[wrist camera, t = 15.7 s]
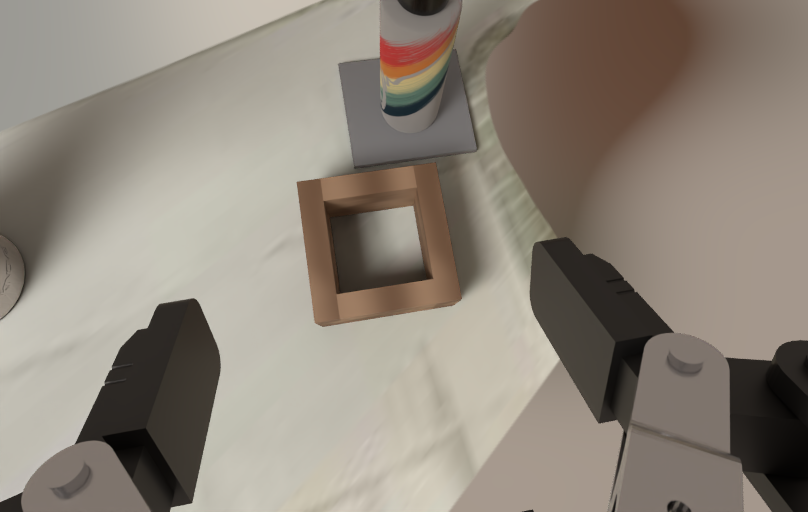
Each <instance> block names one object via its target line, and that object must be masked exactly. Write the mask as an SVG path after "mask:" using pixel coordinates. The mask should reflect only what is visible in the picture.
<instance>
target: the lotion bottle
mask: <svg viewBox="0 0 808 512" xmlns="http://www.w3.org/2000/svg"><path fill="white" fill-rule="evenodd" d="M461 9H462V0H380V99H381V111H382V114H383V117H384V119H385V120H386V122H387V123H388V124H389V125H390V126H391V127H392V128H394V129H395V130H397V131H400V132H403V133H417V132H421V131H423V130H425V129H426V128H428V127H429V126H430V125H431V124H432V123H433V121H434V120H435V118H436V116H437V113H438V110H439V106H440V102H441V98H442V94H443V89H444V85H445V80H446V76H447V72H448V67H449V63H450V59H451V54H452V50H453V46H454V41H455V37H456V32H457V28H458V24H459V19H460V14H461Z"/></svg>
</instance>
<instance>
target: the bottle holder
mask: <svg viewBox="0 0 808 512" xmlns="http://www.w3.org/2000/svg"><path fill="white" fill-rule="evenodd" d="M297 188H298V196H299V203H300V211H301V219H302V227H303V234H304V242H305V250H306V258H307V265H308V273H309V281H310V289H311V296H312V304H313V312H314V320H315V323H316V324H318V325H320V326H322V327H325V326H331V325H337V324H343V323H349V322H355V321H361V320H367V319H374V318H380V317H386V316H392V315H398V314H404V313H410V312H416V311H422V310H429V309H435V308H441V307H447V306H453V305H455V304H456V303H457V302H459V301H460V300H461V299H462V297H461V292H460V287H459V281H458V276H457V271H456V266H455V260H454V255H453V250H452V245H451V239H450V234H449V229H448V224H447V218H446V213H445V208H444V203H443V197H442V192H441V187H440V182H439V176H438V171H437V166H436V162H435V163H428V164H421V165H414V166H407V167H400V168H393V169H385V170H378V171H371V172H364V173H357V174H350V175H343V176H336V177H329V178H321V179H314V180H307V181H300V182H297ZM406 206H414V211H415V217H416V223H417V228H418V234H419V240H420V245H421V251H422V257H423V262H424V268H425V273H426V279H427V280H424V281H417V282H411V283H405V284H398V285H392V286H386V287H380V288H373V289H367V290H361V291H354V292H348V293H342V294H341V293H340V286H339V279H338V272H337V265H336V258H335V251H334V244H333V236H332V229H331V222H330V218H331V217H338V216H345V215H352V214H358V213H365V212H372V211H379V210H386V209H392V208H399V207H406Z"/></svg>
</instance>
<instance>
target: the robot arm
mask: <svg viewBox="0 0 808 512" xmlns="http://www.w3.org/2000/svg"><path fill="white" fill-rule="evenodd" d="M24 277H25V270H24V262H23V260H22V257H21V254H20V252H19V251H18V249H17V248H16V247H15V245H14V244H13V243H12V242H10V241H9V240H8V239H7V238H5V237H3V236H1V235H0V319H1V318H2V317H4V316H5V315H6V314H7V313H8V312H9V311H10V309H11V308H12V307H13V306H14V305H15V303H16V301H17V299H18V297H19V296H20V294H21V291H22V288H23V284H24ZM530 301H531V306H532V310H533V313H534V315H535V317H536V319H537V321H538V322H539V324H540V326H541V327H542V329H543V331H544V332H545V334H546V336H547V338H548V339H549V341H550V343H551V344H552V346H553V348H554V349H555V351H556V353H557V354H558V356H559V358H560V359H561V361H562V363H563V365H564V366H565V368H566V370H567V371H568V373H569V375H570V376H571V378H572V379H573V381H574V383H575V385H576V386H577V388H578V390H579V391H580V393H581V395H582V397H583V398H584V400H585V401H586V403H587V405H588V407H589V408H590V410H591V412H592V413H593V415H594V417H595V418H596V420H597V422H598V423H603V422H609V421H614V420H618V422H619V423H620V425H621V426H622V428H623V434H622V438H621V443H620V448H619V453H618V459H617V464H616V469H615V474H614V479H613V484H612V490H611V495H610V500H609V505H608V511H607V512H744V510H743V509H744V508H743V473H744V474H745V476H746V477H747V478H748V480H749V481H750V482H751V484H752V485H753V486H754V488H755V489H756V490H757V492H758V493H759V494H760V496H761V497H762V499H763V500H764V501H765V503H766V504H767V505H768V507H769V508H770V510H771V511H772V512H808V341H802V340H799V341H791V342H787V343H784V344H782V345H781V346H780V347H779V348H778V349H777V351H776V353H775V355H774V357H773V359H772V361H766V360H751V359H736V358H725V357H724V356H723V354H721V352H720V351H719V350H717V349H716V348H715V347H714V346H712V345H711V344H709V343H707V342H706V341H704V340H701V339H699V338H696V337H694V336H690V335H686V334H681V333H674V332H673V331H672V330H671V329H670V328H669V327H668V325H667V324H666V323H665V322H664V321H663V320H662V319H661V318H660V317H659V316H658V315H657V313H656V312H655V311H654V310H653V309H652V308H651V307H650V306H649V305H648V304H647V303H646V301H645V300H644V299H643V298H642V297H641V296H640V295H639V294H638V293H637V292H634V289H633V288H632V286H631V285H630V284H629V283H628V282H627V281H624V278H623V277H622V276H621V274H620V273H619V272H618V271H617V270H616V269H615V268H614V267H613V266H612V265H611V264H610V263H608V262H606V261H604V260H603V259H601V258H599V257H597V256H595V255H593V254H586V255H583V254H582V253H581V252H580V250H579V249H578V248H577V247H576V246H575V245H574V243H573V242H572V241H571V240H570V239H569V238H567V237H564V238H558V239H552V240H546V241H540V242H536V243H535V244H534V246H533V251H532V266H531V282H530ZM220 368H221V364H220V354H219V350H218V347H217V344H216V342H215V339H214V337H213V335H212V332H211V330H210V328H209V325H208V323H207V321H206V318H205V316H204V313H203V311H202V309H201V306H200V304H199V303H198V301H197V300H196V299H194V298H193V299H187V300H181V301H175V302H169V303H163V304H159V305H158V306H157V308H156V310H155V312H154V315H153V317H152V319H151V322H150V324H149V326H148V328H147V329H141V330H137V331H136V332H135V333H134V335H133V336H132V337H131V338H130V339H129V340H128V341H127V342H126V343H125V344H124V345H123V346H122V347H121V348H120V350H119V352H118V354H117V357H116V359H115V361H114V363H113V365H112V370H110V371H109V373H108V376H107V378H106V380H105V386H102V388H101V390H100V392H99V395H98V397H97V399H96V401H95V403H94V405H93V407H92V409H91V412H90V414H89V416H88V418H87V420H86V422H85V424H84V426H83V428H82V431H81V433H80V435H79V437H78V439H77V441H76V443H75V445H72V446H70V447H68V448H66V449H64V450H62V451H60V452H58V453H57V454H55V455H54V456H53V457H51V458H50V459H49V460H47V461H46V462H45V463H44V464H43V465H42V466H41V467H40V468H39V469H38V470H37V471H36V472H35V473H34V474H33V475H32V477H31V478H30V480H29V481H28V483H27V484H26V486H25V488H24V491H23V492H22V493H20V494H18V495H16V496H13V497H11V498H9V499H7V500H4V501H2V502H0V512H170V509H171V507H175V506H180V505H185V504H190V503H192V501H193V497H194V492H195V487H196V483H197V478H198V473H199V469H200V464H201V459H202V455H203V450H204V445H205V441H206V436H207V432H208V427H209V422H210V418H211V413H212V408H213V404H214V399H215V394H216V390H217V385H218V380H219V376H220ZM742 472H743V473H742ZM524 512H534V511H533V510H528V511H524Z"/></svg>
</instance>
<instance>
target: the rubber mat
mask: <svg viewBox="0 0 808 512" xmlns="http://www.w3.org/2000/svg"><path fill="white" fill-rule="evenodd" d="M338 65H339V71H340V78H341V84H342V91H343V97H344V104H345V110H346V116H347V123H348V129H349V136H350V142H351V149H352V155H353V162H354V168H355V169H356V168H364V167H371V166H378V165H385V164H392V163H399V162H407V161H414V160H421V159H428V158H435V157H442V156H449V155H457V154H464V153H471V152H476V150H477V147H476V142H475V138H474V133H473V128H472V123H471V118H470V114H469V109H468V104H467V99H466V95H465V90H464V85H463V80H462V75H461V71H460V66H459V61H458V56H457V52H456V49H453V50H452V54H451V59H450V63H449V67H448V72H447V76H446V80H445V85H444V89H443V94H442V98H441V102H440V106H439V110H438V113H437V116H436V118H435V120H434V121H433V123H432V124H431V125H430V126H429V127H428V128H426V129H425V130H423V131H421V132H417V133H403V132H400V131H397V130H395V129H394V128H392V127H391V126H390V125H389V124H388V123H387V122H386V120H385V119H384V117H383V114H382V111H381V99H380V59H372V60H364V61H356V62H348V63H340V64H338Z"/></svg>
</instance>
